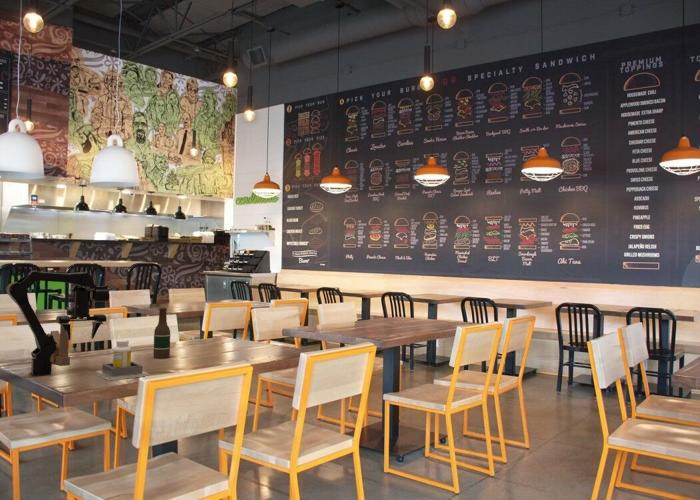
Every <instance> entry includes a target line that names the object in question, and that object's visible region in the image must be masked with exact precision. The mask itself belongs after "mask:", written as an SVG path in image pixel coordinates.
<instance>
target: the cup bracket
mask: <svg viewBox="0 0 700 500" xmlns="http://www.w3.org/2000/svg"><path fill="white" fill-rule="evenodd" d="M101 367H102V370H95V375H97V376H98V377H101V378H102V379H105V380H106V381H108V382H109V381H110V380H112V381H118V380H117V379H121V380H127V379H126V378H131V379H136V378H135V377H140V378H142V377H141V376H147V375H149V376H150V373H148V372H147V371H144V370H143V367H144V366H143V365H141V364H139V363H137V362H134V361H131V367H120V368H113V362H112V363H102V365H101ZM110 382H111V381H110Z"/></svg>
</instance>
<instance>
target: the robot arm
mask: <svg viewBox="0 0 700 500" xmlns="http://www.w3.org/2000/svg"><path fill="white" fill-rule="evenodd" d="M38 281H39V282H53V283H54V282H55V283H56V282H57V283H67V284H71V285H73V287H71V288H70V289H69V292H74V304H73V307H72V306H71V307H69V306H68V307H66V315H57V316H56V318H55V323H57V324H59V325H62V326H63V327H64V329H65V331H66V334H67V337H68V340H69V341H71V338H72V337H71V323H70V322H90V321H92V322H91V325H92V329H91V339H92V340H93V339H94V338H95V336H96V334H97V332H98V329H99V328H100V326H101V325H104V322H105V323H106V322H107V315H106V314H103V313H101V314H99V313H98V314H97V313H95V314H93V316H92V315H90V308H91V305H90V304H91V303H90V302H91V301H90V300H92V301H93V303H99V302H100V303H103V302H109V300H110V296H111V295H110V291H109V287H108V285H102V286H99V285H98V286H97V285H96V284H95V283H94V280H93V278H92V276H91V274H90V273H88V272H83V271H80V272H70V273H69V272H68V273H62V272H61V273H59V272H50V271H49V272H48V271H47V272H46V271H38V270H30V271H29V273H27V274H26V275H24V276H22V277H21V278H19V279H18V280H16V281H12V282H10V283H9V284H8V285H7V286H6V288H5V291H6V293H7V295H8V296H9V297H10V299H11V300H12V301H13V302H14V303H15V305H17V306H18V308H19V310H20V312H21V314H22V315H23V317H24V320H25V322H26V323H27V325H28V327H29V329H30V331H31V332H32V334H33V337H34V342H35V346H36V348H34V349H33V351H31V352H30V355H31V357H32V358H31V370H30V372H29V374H30V375H31V376H33V377H34V376H35V377H36V376H47V375H52V368H53V367H52V362H51V361H50V358H51V356H52V354H53V353H54V352H55V351H56V349H57V347H56V344H57V343H56V342H55V341H54V338H53V335H51V334H50V333H46V332H45V330H44V328H43V326H42V324H41V322H40V320H39V318H38V317H37V315H36V312H35V311H34V309H33V307H32V305H31V304H30V301H29V295H28V292H27V290H28V289H30V288H31V287H32V286H33V285H34V284H35V283H37V282H38ZM79 286H80V287H79Z"/></svg>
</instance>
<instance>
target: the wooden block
mask: <svg viewBox="0 0 700 500" xmlns="http://www.w3.org/2000/svg"><path fill="white" fill-rule="evenodd" d="M59 325H60V324H59ZM59 327H60V328H59V330H60V331H59V330H51V331H50V333H49V334H51V335H53V338H54V341H55V342H56V343H57V344H56V347H57V349H56V351H55V352H54V353H53V354H52V356H51V358H50V361H51V362H52V364H53V365H54V364H55V365H56V366H57V365H58V366H69V365H71V356H69V350H70V348H69V347H70V345H69V343H70V340H68V337H67V334H66V331H65V329H64V327H63V326H62V325H60V326H59Z"/></svg>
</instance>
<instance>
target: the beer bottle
mask: <svg viewBox="0 0 700 500" xmlns="http://www.w3.org/2000/svg"><path fill="white" fill-rule="evenodd" d="M158 310H159V314H158V323H157V325H156V326H155V329H154V332H153V351H152V352H153V359H158V360H161V359H164V360H165V359H169V358H170V355H171V352H170V351H171V330H170V327H169V325H168V321H167V320H168V319H167V311H168V309H167V307H165V306H164V307H159V309H158Z"/></svg>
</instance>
